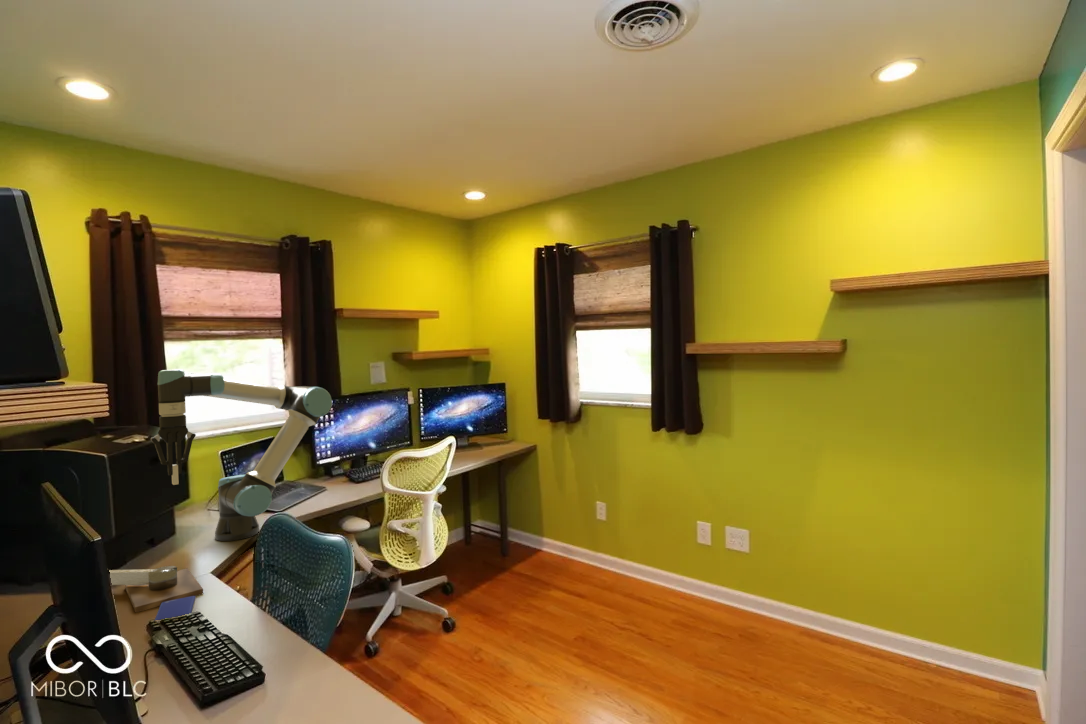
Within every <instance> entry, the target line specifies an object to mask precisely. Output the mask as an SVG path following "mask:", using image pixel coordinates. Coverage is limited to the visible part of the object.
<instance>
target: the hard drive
mask: <svg viewBox="0 0 1086 724" xmlns="http://www.w3.org/2000/svg"><path fill="white" fill-rule="evenodd" d="M196 597H197V596H190V597H185V598H180V599H175V600H170V601H164V602H162V603H161V605H160V606H159V609H158V610H157V613H156V615H155V618H154V620H153V622H154V621H155V620H161V619H165V618H172V617H178V616H182V615H185V614H189V613H192V614H193V612H192V611H194V607H195V604H196Z"/></svg>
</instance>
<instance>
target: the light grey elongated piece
mask: <svg viewBox="0 0 1086 724" xmlns="http://www.w3.org/2000/svg"><path fill="white" fill-rule="evenodd" d="M108 570H109V572H110V578H111V583H112V585H111V586H125V585H144V584H149V589H150V590H162V589H166V588H169V587H172V586H174V585H176V584H177V583H178V580H177V571H178V567H177V566H176V565H166V566H165V565H164V566H159V567H156V568H154V569H112V570H111V569H108Z"/></svg>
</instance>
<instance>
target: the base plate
mask: <svg viewBox="0 0 1086 724" xmlns="http://www.w3.org/2000/svg"><path fill="white" fill-rule="evenodd" d="M177 580H178V583H177V584H176V585H174V586H172V587H169V588H166V589H162V590H150V589H149V584H144V585H124V588H125V591H126V593H127V596H128V598H129V601H130V603H131V605H132V607H133V610H134V612H135V613H139V612H143V611H147V610H150V609H153V608H157V607H160V605H161V603H162V602H164V601H170V600H175V599H180V598H185V597H190V596H196V595H197V596H200V595H203V594H204V588H203V586H202V585H201V584H200V583H199V581H198V580H197V579H196V578H195V576H194V575H193V574H192V572H191V571H190V570H189V568H188V567H187V568H186V567H185V568H183V569H179V570H178V569H177ZM202 593H203V594H202ZM199 594H200V595H199ZM197 596H196V597H197Z"/></svg>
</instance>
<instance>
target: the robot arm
mask: <svg viewBox="0 0 1086 724" xmlns="http://www.w3.org/2000/svg"><path fill="white" fill-rule="evenodd" d="M157 375H158V376H157V391H158V393H157V394H158V414H159V415H160V416H159V417H158V418H159V428H158V432H157V434H156V435H154V436H152V437H150V441H151V442H152V443H153V444H154V447H155V449H156V450H155V451H156V452H157V453H156V454H157V456H158V459H159V462H160V464H161V465H163V466H167V475H168V476H171V484H172V485H173V486H175V485H180V484H179V475H180V474H181V475H182V473H183V470H182V469H183V468H182V467H183V464H184V463H187V462H189V457H190V453H191V448H192V444H193V441H194V439H195V438H196V436H197V435H196V433H194V432H190V431H189V429H188V427H187V416H186V397H199V396H200V397H203V396H204V397H211V398H218V399H225V400H231V401H232V400H234V401H238V402H239V401H240V402H246V403H253V404H261V405H269V406H273V407H275V409H278V410H285V411H288V414H289V415H288V417H287V419H286V421H285V422H284V424H283V425H282V426H281V428H280V429H279V431H278V433H277V434H276V436H275V437H274V438H273V440H272V441H271V443H270V445H269V446H268V448H267V449H266V450H265V452H264V454H263V455H262V457H261V458H260V460H259V462H258V463H257V465H256V466H255V468H254V469H253V470H252V471H249V472H246V473H245V474H239V475H234V476H233V475H232V476H230V475H229V476H227V477H225V476H224V477H222V478H219V480H218V482H217V485H218V486H217V489H218V509H219V519H218V521H217V525H216V528H215V531H214V539H215V540H216V541H221V542H230V541H239V540H244V539H247V538H250V537H254V536H256V535H257V534H259V533H258V531H259V532H260V524H259V522H258V519H257V516H259V515H261V514H264V512H266V511H267V510H268V509H269V508H270V506H271V503H272V500H273V497H272V494H273V492H274V491H275V489H276V486H277V485H276V480H277V478H278V476H279V475H280V474H281V472H282V470H283V468H284V467H285V465H286V464H287V462H288V461H289V459H290V458H291V456H292V454H293V453H294V452H295V450H296V448H297V447H298V445H299V444H300V442H301V440H302V439H303V437H304V436H305V434H306V433H307V431H308V430H309V427H312V426H316V424H317V423H318V421H319V419H320V418H321V417H323V416H325V415H327V414H328V413H329V412H330V410H331V408H332V405H333V399H332V396H331V394H330V392H328V390H326V389H325V388H323V387H320V386H308V385H307V386H306V385H302V386H301V385H300V386H296V385H295V386H291V385H289V386H288V385H284V384H283V385H279V386H272V385H266V384H260V383H254V382H247V381H242V380H241V381H240V380H235V379H229V378H224V376H223V375H222V374H221V373H205V374H203V373H188V374H186V373H185V371H184V369H162V370H160V371H158V374H157ZM185 437H186V438H187V439H186V441H185V442H186V443H185V447H184V452H183V455H182V441H183V439H184V438H185ZM160 438H161V439H160ZM160 440H163V441H164V442H165V443H166V458H165V455H164V452H163V449H162V446H161V443H160ZM173 443H174V444H175V445H174V446H175V464H173V462H174V461H173Z"/></svg>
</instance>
